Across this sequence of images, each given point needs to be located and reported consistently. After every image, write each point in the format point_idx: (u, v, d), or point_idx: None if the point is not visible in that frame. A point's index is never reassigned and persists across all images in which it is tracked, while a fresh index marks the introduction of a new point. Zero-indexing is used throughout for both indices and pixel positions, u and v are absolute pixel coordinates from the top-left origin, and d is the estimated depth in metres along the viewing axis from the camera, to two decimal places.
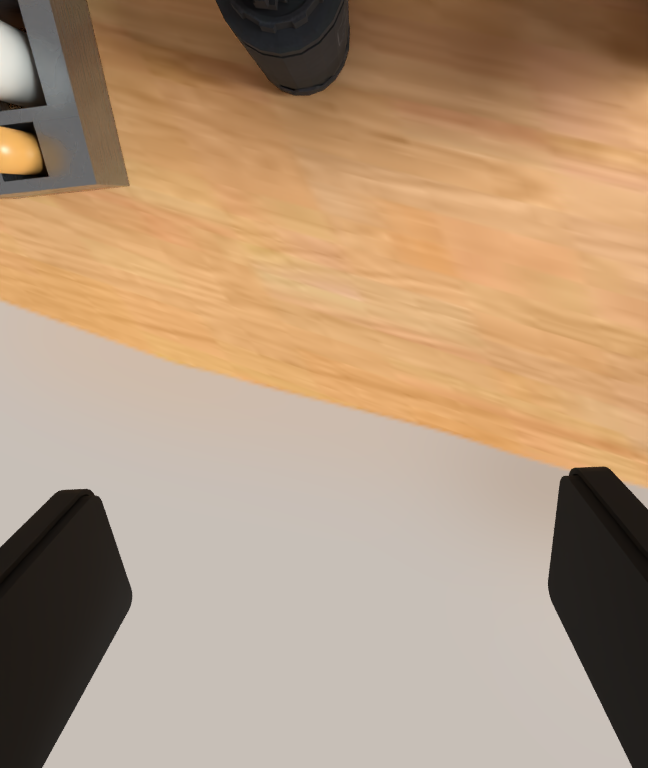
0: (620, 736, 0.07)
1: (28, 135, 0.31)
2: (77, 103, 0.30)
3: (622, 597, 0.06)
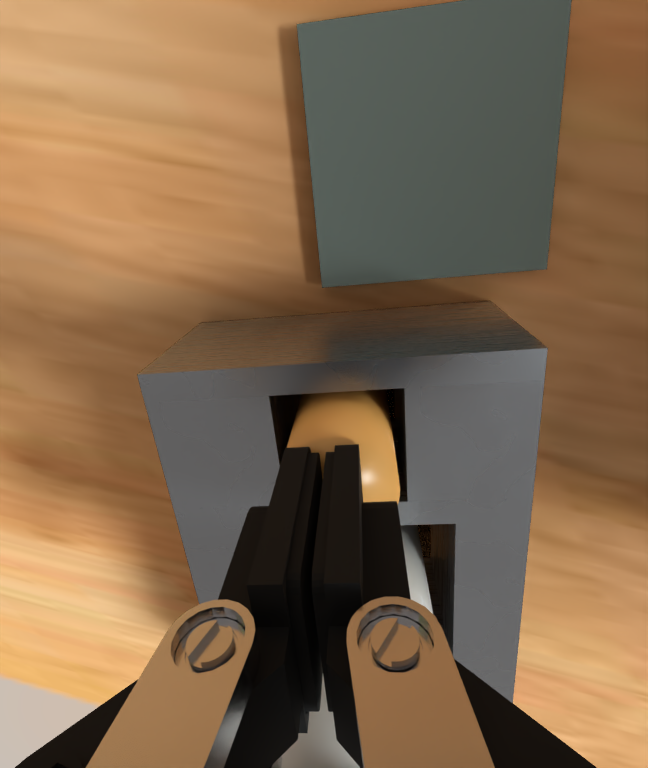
0: None
1: None
2: None
3: None
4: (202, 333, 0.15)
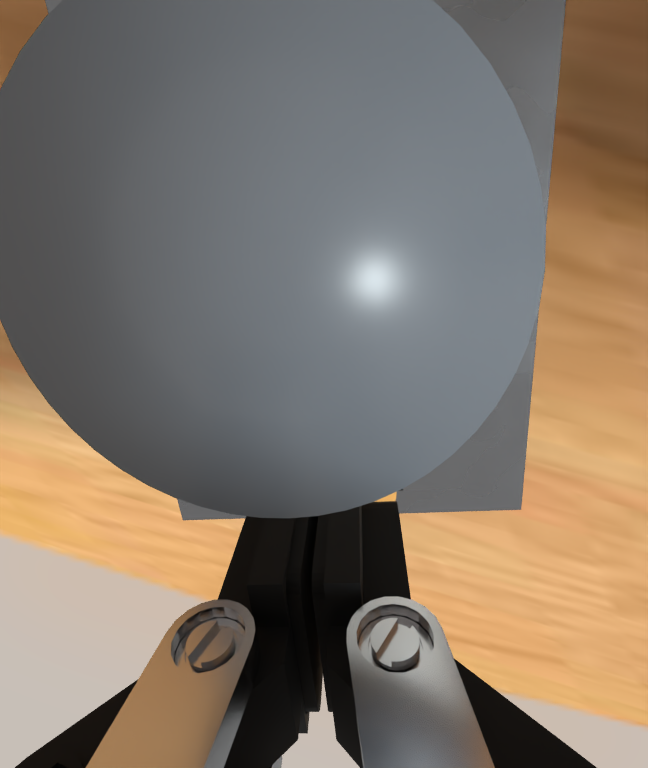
0: None
1: None
2: None
3: None
4: None
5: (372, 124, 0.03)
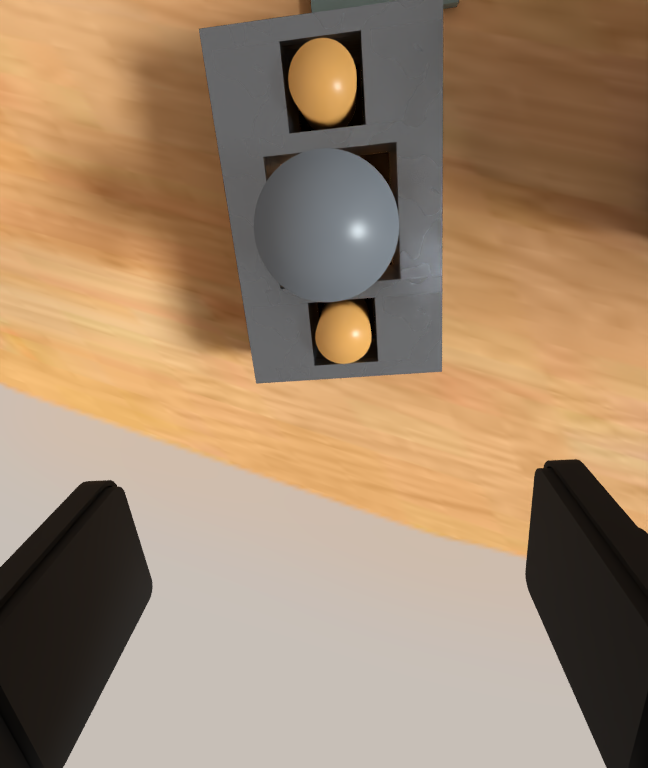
0: (586, 716, 0.07)
1: (361, 303, 0.25)
2: None
3: (587, 582, 0.07)
4: None
5: (355, 188, 0.14)
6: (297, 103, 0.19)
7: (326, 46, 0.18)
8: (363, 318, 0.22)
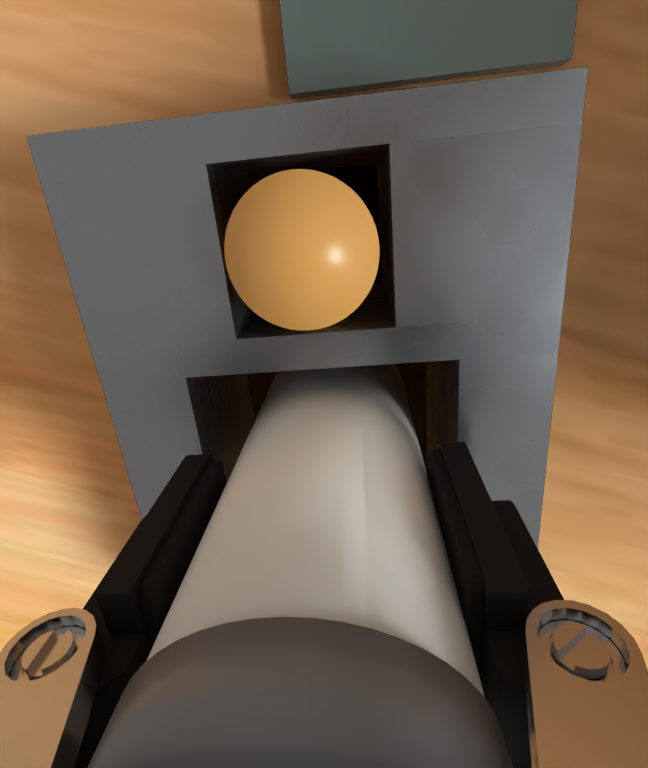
0: None
1: None
2: None
3: (448, 545, 0.08)
4: None
5: None
6: (247, 301, 0.09)
7: (309, 187, 0.08)
8: None
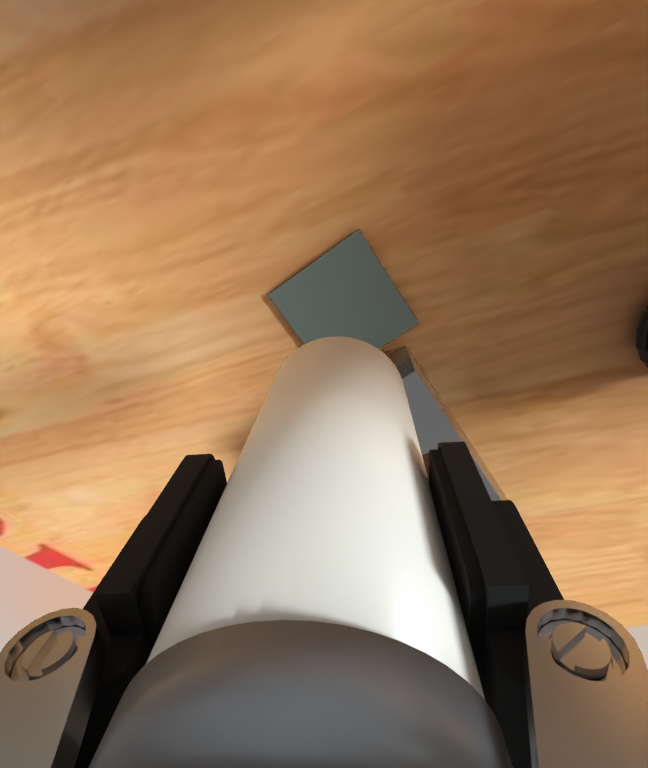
0: None
1: None
2: None
3: (448, 545, 0.08)
4: None
5: None
6: None
7: None
8: None
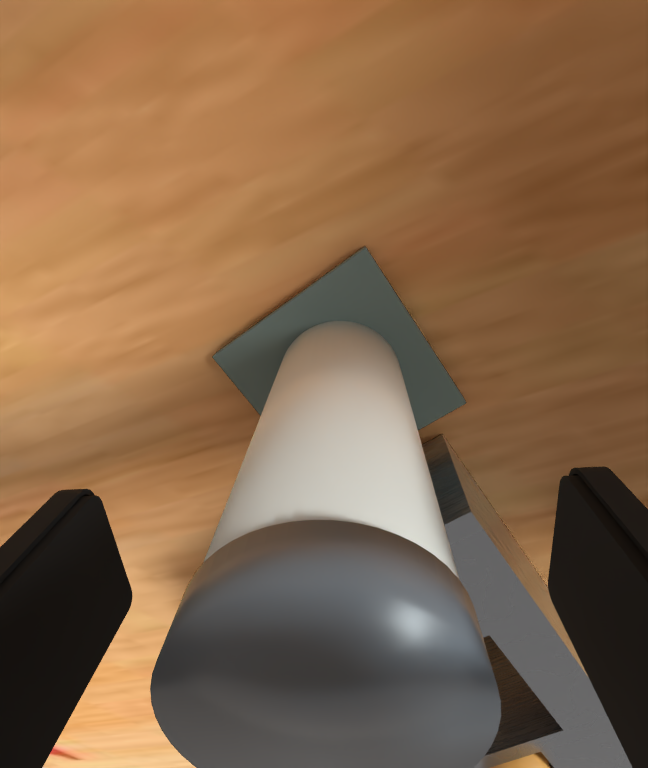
0: (620, 736, 0.07)
1: None
2: None
3: (622, 597, 0.06)
4: None
5: (398, 658, 0.06)
6: None
7: None
8: None
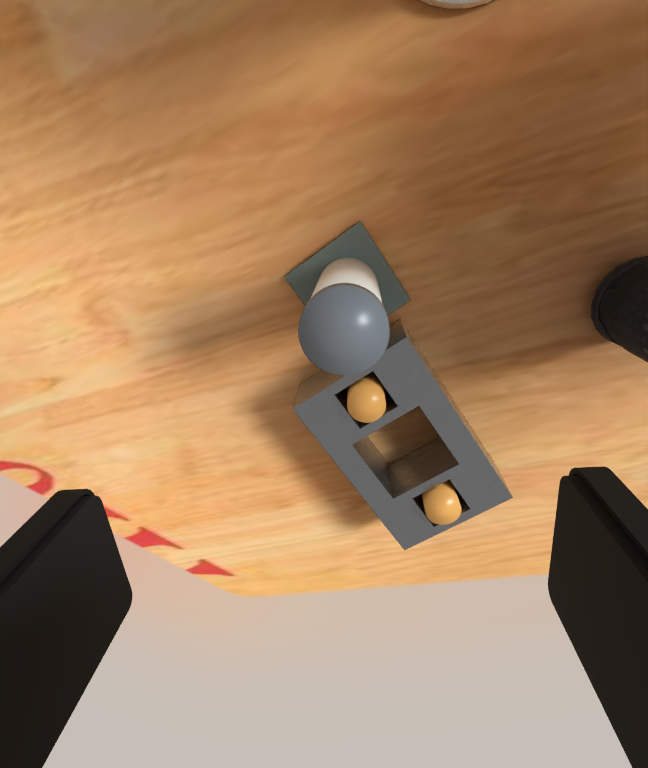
0: (620, 736, 0.07)
1: None
2: (481, 450, 0.35)
3: (622, 597, 0.06)
4: (303, 387, 0.37)
5: (362, 309, 0.23)
6: (359, 420, 0.33)
7: (361, 392, 0.32)
8: (449, 496, 0.35)
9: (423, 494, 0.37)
